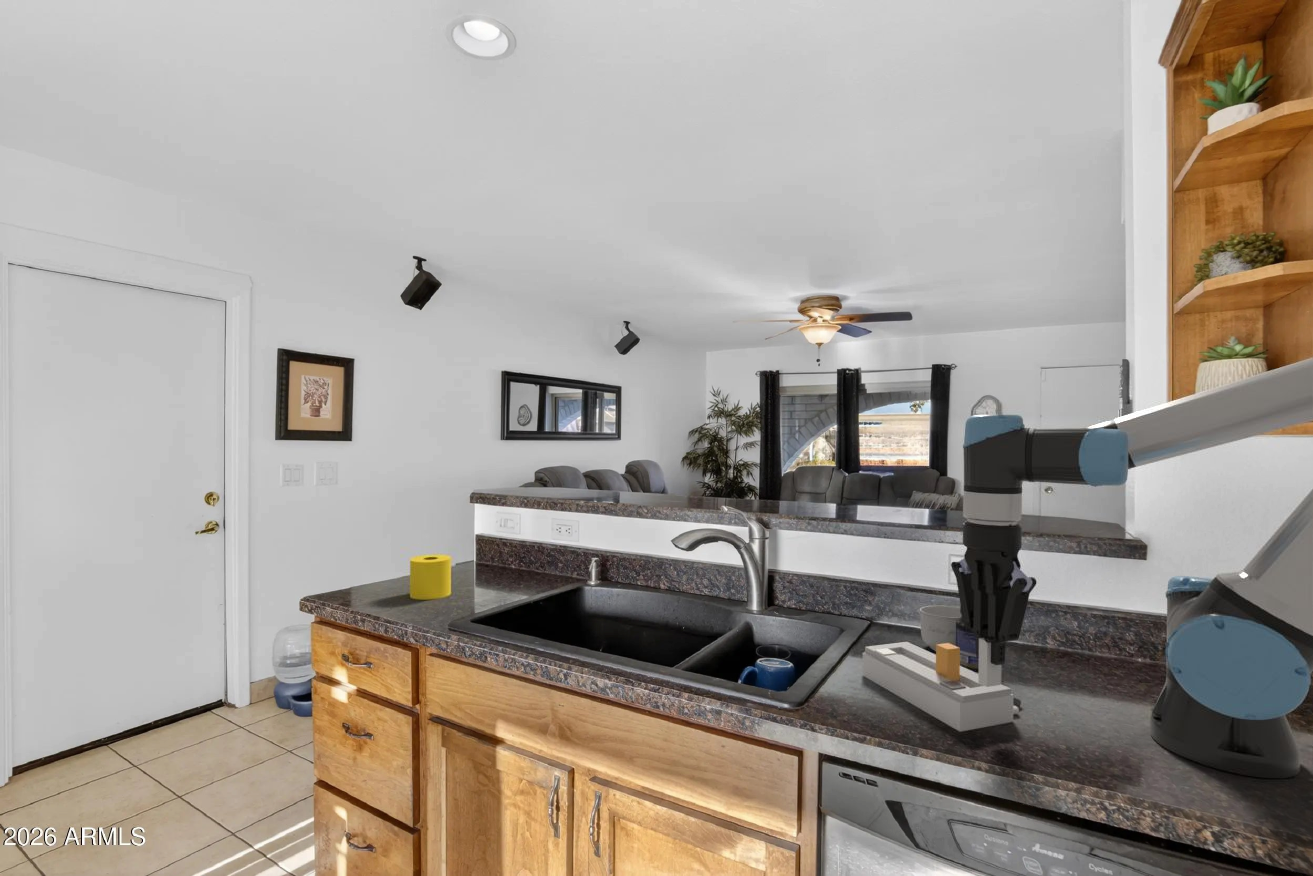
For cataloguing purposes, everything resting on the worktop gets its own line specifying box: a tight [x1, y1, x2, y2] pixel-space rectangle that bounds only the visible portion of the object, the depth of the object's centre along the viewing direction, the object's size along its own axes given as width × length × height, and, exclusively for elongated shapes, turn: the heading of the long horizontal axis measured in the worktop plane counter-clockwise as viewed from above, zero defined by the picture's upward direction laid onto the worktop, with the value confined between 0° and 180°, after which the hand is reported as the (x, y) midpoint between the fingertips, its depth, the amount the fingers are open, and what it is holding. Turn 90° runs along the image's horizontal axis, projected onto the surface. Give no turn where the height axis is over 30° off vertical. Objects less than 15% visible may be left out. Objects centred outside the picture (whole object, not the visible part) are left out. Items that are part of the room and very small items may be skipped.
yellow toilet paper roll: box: [409, 554, 452, 601], centre depth 164 cm, size 10×10×9 cm
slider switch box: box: [862, 641, 1014, 732], centre depth 102 cm, size 22×10×5 cm, turn 19°
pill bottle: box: [956, 605, 979, 674], centre depth 115 cm, size 6×6×11 cm
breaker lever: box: [935, 643, 960, 681], centre depth 99 cm, size 2×2×5 cm
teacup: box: [919, 604, 962, 652], centre depth 124 cm, size 14×11×8 cm
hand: (989, 683), depth 91 cm, fingers closed
